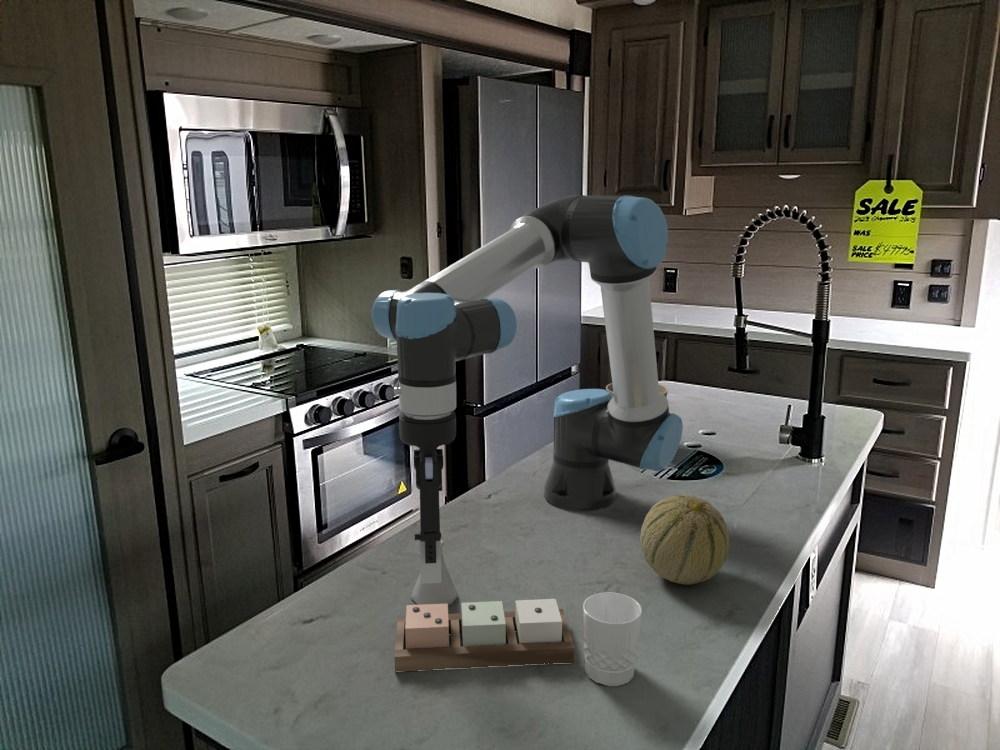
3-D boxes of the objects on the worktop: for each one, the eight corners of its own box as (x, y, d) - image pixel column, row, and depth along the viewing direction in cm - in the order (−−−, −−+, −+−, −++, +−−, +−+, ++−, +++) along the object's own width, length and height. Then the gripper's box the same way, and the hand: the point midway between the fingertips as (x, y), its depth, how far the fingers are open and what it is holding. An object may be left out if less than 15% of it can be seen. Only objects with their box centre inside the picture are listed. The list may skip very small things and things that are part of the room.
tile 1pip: (515, 619, 115) (515, 599, 114) (555, 617, 115) (555, 597, 114) (519, 643, 109) (519, 622, 108) (561, 641, 109) (562, 620, 108)
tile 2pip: (461, 622, 114) (461, 601, 113) (501, 620, 114) (501, 599, 113) (463, 646, 108) (462, 624, 107) (505, 644, 109) (505, 622, 108)
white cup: (631, 653, 110) (635, 591, 108) (643, 689, 103) (647, 623, 100) (577, 654, 110) (579, 592, 108) (585, 690, 102) (587, 624, 100)
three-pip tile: (407, 624, 113) (406, 603, 112) (448, 622, 114) (447, 602, 113) (405, 648, 107) (405, 627, 107) (448, 646, 108) (448, 625, 107)
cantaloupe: (652, 550, 141) (656, 473, 137) (734, 568, 134) (741, 489, 130) (626, 587, 128) (630, 504, 124) (715, 609, 121) (722, 522, 118)
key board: (398, 631, 116) (397, 616, 115) (562, 623, 118) (562, 608, 117) (395, 672, 106) (394, 656, 105) (574, 663, 108) (574, 647, 107)
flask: (434, 581, 130) (432, 527, 127) (466, 596, 125) (465, 540, 123) (402, 599, 124) (400, 543, 122) (434, 615, 120) (433, 557, 117)
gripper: (401, 386, 113) (405, 519, 119) (396, 443, 89) (401, 606, 95) (452, 385, 114) (453, 517, 119) (460, 441, 90) (461, 603, 95)
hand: (430, 557), depth 107 cm, fingers open, 13 cm apart
